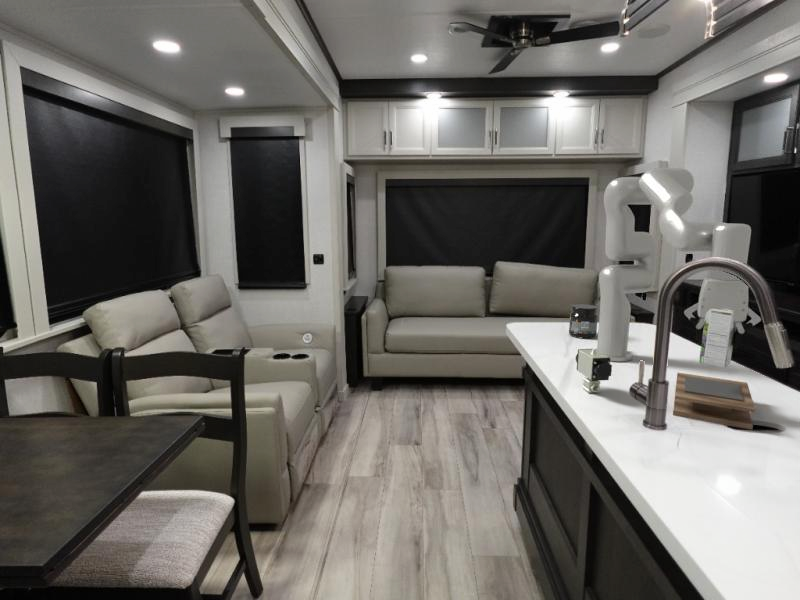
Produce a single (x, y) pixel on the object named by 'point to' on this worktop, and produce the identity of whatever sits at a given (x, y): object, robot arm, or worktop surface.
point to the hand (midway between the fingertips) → (717, 345)
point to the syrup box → (718, 337)
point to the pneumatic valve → (593, 368)
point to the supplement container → (583, 321)
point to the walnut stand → (713, 400)
